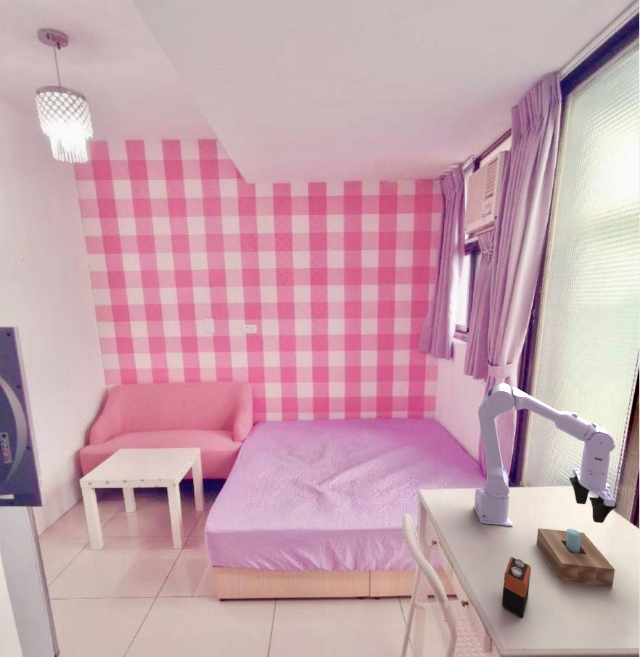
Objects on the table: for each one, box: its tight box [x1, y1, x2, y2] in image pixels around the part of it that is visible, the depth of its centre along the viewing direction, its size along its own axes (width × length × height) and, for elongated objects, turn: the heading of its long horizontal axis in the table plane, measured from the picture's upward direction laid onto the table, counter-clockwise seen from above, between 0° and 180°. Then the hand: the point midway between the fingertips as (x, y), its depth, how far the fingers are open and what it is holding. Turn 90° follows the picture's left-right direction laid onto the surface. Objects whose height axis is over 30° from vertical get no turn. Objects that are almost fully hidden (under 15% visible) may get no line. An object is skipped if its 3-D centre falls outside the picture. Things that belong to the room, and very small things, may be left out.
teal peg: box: [566, 528, 581, 554], centre depth 87 cm, size 3×3×8 cm
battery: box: [501, 556, 532, 619], centre depth 77 cm, size 4×7×10 cm, turn 138°
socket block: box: [536, 527, 616, 588], centre depth 88 cm, size 12×12×5 cm
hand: (589, 512), depth 93 cm, fingers open, 7 cm apart
